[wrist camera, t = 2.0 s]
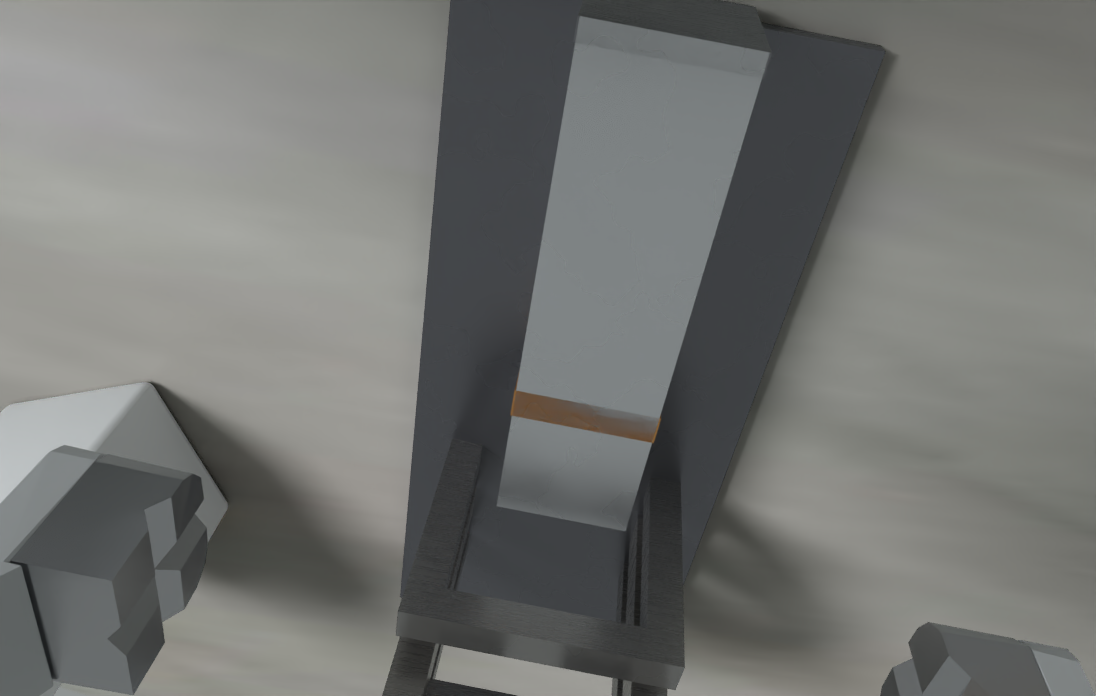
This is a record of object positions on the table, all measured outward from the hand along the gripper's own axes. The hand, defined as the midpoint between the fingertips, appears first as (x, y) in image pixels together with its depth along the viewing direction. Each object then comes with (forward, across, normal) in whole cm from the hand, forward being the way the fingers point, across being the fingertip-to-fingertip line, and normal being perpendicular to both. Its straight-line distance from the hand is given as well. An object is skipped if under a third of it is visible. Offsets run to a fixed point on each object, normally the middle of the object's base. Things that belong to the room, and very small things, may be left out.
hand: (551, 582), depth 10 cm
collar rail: (+19, -1, +11) cm, 22 cm away
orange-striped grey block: (+18, -1, +5) cm, 19 cm away
